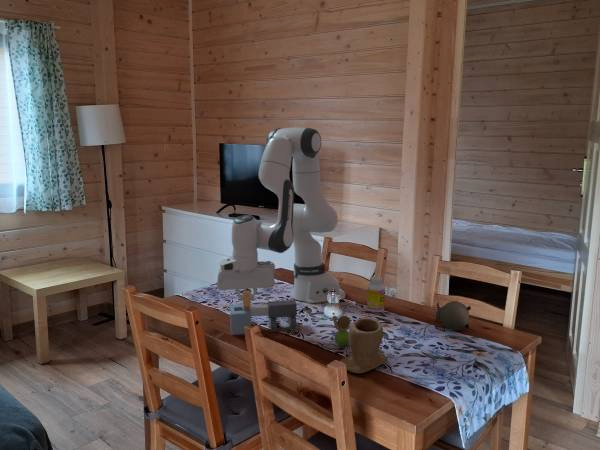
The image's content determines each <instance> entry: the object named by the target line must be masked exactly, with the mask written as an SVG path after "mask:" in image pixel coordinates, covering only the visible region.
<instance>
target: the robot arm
mask: <svg viewBox="0 0 600 450" xmlns="http://www.w3.org/2000/svg"><path fill="white" fill-rule="evenodd" d="M321 148H322V137H321V134H320V133H319V131H318V130H317V129H315V128H310V127H307V128H305V127H299V126H298V127H297V126H294V127H293V126H292V127H285V128H282V127H279V128H275V129H272V130H270V132H269V134H268V135H267V136H266V145H265V148H264V149H263V150H264V151H263V152H262V157H261V160H260V164H259V168H258V179H259V181H260V183H261V184H262V186H264V188H266V189H267V190H269V191H270V192H273V193H274V194H275V195H276V196H277V198H278V211H277V213H278V214H277V220H276V223H271V222H266V221H260V220H258V219H256V218H255V217H254V215H252V214H251V215H249V214H244V215H239V216H237V217H235V218H234V219H233V221H232V224H231V243H232V244H231V245H232V256H231V257H228V258H224V259H222V260H221V261H220V263H219V270H218V272H217V279H216V286H217V289H218V291H229V290H231V291H232V290H235V294H236V295H237V296H238V301H239V302H243V294H240V290H246V289H247V290H248V289H252V291H253V292H252V293H250V301H254V300H255V296H256V294H257V292H258V289H264V288H273V287H274V286H275V284H276V282H275V274H274V273H275V271H276V265H275V263H274V262H272V261H270V260H268V261H267V260H265V261H263V260H262V261H260V260H259V257H258V256H259V255H258V254H259V253H258V249H260V250H266V251H271V252H274V253H279V254H283V253H285V252H287V251H289V249H290V248H291V247H292V245H293V249H294V264H293V276H294V277H293V278H294V282H293V283H294V284H293V288H292V293H291V298H292V299H293V300H295V301H296V300H297V301H300V302H305V303H309V304H317V303H326V302H328V301H327V295H328V292H329V291H332V289H333V287H335V291H336V293H337V294H339V295H340V298H341V300H344V299H345V298H346V293H345V291H344V290H343V289H341V288H340V286H341V285H340V283H339V281H338V280H337V279H336V277H334V276H333V275H331V274H330V273H328V272H329V270H330V268H329V265H326V264H325V263H323V262H322V246H321V244H320V242H319V241H318V240H316V239H315V238H314V237H313V236H312V234H311V233H328V232H333V231H334V230H335V229H336V227H337V225H338V222H339V217H338V213H337V211H336V209H335V208H334V207H332V206H331V205H330V204H329V203H328V202H327V200H326V198H325V196H324V193H323V190H322V182H321V167H320V166H321V165H320V157H319V152H320V150H321ZM291 166H292V181H291V179H290V178H291V177H290V171H291ZM295 194H296V195H297V196H299V197H301V198H302V200H303V201H304V203H295Z"/></svg>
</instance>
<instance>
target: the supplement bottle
mask: <svg viewBox="0 0 600 450" xmlns="http://www.w3.org/2000/svg"><path fill="white" fill-rule="evenodd" d="M383 280H384V279H383V277H381V276H371V277H370V279H369V281H370V283H369V284H368V285H367V296H366V297H367V300H366V301H367V302H366V303H367V304H366V305H367V306H366V308H367V311H369V312H372V313H382V312H384V310H385V305H386V304H385V302H386V301H385V298H386V297H385V294H386V293H385V292H386V287H385V285H384V283H383Z"/></svg>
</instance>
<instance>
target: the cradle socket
mask: <svg viewBox="0 0 600 450" xmlns="http://www.w3.org/2000/svg"><path fill="white" fill-rule="evenodd" d="M242 306H243V303H240V304H237V303H236V304H229V317H230V318H229V320H230V335H231V336H235V335H245V334H244V326H251V327H252V316H251V311H250V310H245V311H242Z"/></svg>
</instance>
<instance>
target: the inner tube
mask: <svg viewBox="0 0 600 450" xmlns="http://www.w3.org/2000/svg"><path fill="white" fill-rule="evenodd" d="M250 294H251V292H250V290H243V291H242V295H243V301H242V304H243V306H242V311H245V310H250V311H251V317H263V316H268V315H269V306H268V304H267V303H266V304H254V305H253V304H252V305H251V300H250Z"/></svg>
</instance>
